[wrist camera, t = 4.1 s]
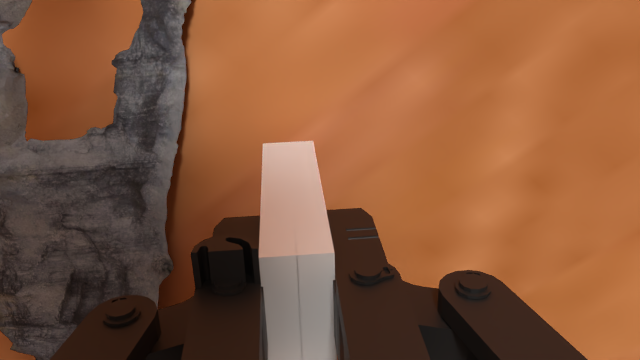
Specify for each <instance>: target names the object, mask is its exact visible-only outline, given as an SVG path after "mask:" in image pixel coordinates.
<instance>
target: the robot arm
mask: <svg viewBox="0 0 640 360" xmlns="http://www.w3.org/2000/svg"><path fill="white" fill-rule="evenodd" d="M191 259H192V266H193V273H194V281H195V293H194V296H193V297H191V298H190V299H188V300H186V301H184V302H182V303H179V304H176V305H173V306H170V307H166V308H163V309H159V310H157V307H156V304H155V302H154V301H153V300H151V299H150V298H148V297H145V296H140V295H124V296H119V297H115V298H112V299H109V300H107V301H105V302H103V303H101V304H99V305H98V306H97V307H95V308H94V309H93V310H92V311H91V312H90V313H89V314H88V315H87V316H86V317H85V318H84V320H83V321H82V322H81V323H80V324H79V325H78V327H77V328H76V329H75V330H74V331H73V333H72V334H71V335H70V336H69V337H68V338H67V340H66V341H65V342H64V343H63V344H62V345H61V347H60V348H59V349H58V350H57V351H56V353H55V354H54V355H53V356H52V357H51V358H50V360H337V357H338V360H587V359H586V358H585V357H584V356H583V355H582V354H581V353H580V352H579V351H577V350H576V349H575V348H574V347H573V346H572V345H571V344H570V343H569V342H568V341H566V340H565V339H564V338H563V337H562V336H561V335H560V334H559V333H558V332H557V331H555V330H554V329H553V328H552V327H551V326H550V325H549V324H548V323H547V322H546V321H544V320H543V319H542V318H541V317H540V316H539V315H538V314H537V313H536V312H535V311H533V310H532V309H531V308H530V307H529V306H528V305H527V304H526V303H525V302H524V301H522V300H521V299H520V298H519V297H518V296H517V295H516V294H515V293H514V292H513V291H511V290H510V289H509V288H508V287H507V286H506V285H505V284H504V283H503V282H501V281H500V280H498V279H497V278H495V277H494V276H492V275H489V274H486V273H483V272H479V271H472V270H465V271H455V272H453V273H450V274H447V275H445V276H444V277H443V278H442V279H441V280H440V283H439V289H437V288H429V287H422V286H417V285H413V284H410V283H407V282H404V281H403V280H402V279H401V276H400V274H399V272H398V271H397V270H396V268H395V267H393V266H391V265H390V264H388V262H387V259H386V256H385V253H384V250H383V247H382V245H381V242H380V239H379V237H378V233H377V230H376V227H375V224H374V221H373V218H372V216H370V215H369V214H368V213H367V212H365V211H364V210H363V209H361V208H354V209H338V210H326V206H325V201H324V195H323V190H322V185H321V180H320V175H319V169H318V164H317V159H316V154H315V149H314V143H313V141H300V142H281V143H263V156H262V182H261V209H260V216H247V217H231V218H224V219H223V220H222V221H221V222H220V223H219V224H218V225H217V226H216V227H215V228H214V232H213V237H211V238H209V239H206V240H203V241H202V242H200V243H199V244H197V245H196V246H195V247H194V248H193V250H192V252H191Z"/></svg>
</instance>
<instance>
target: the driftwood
mask: <svg viewBox="0 0 640 360" xmlns="http://www.w3.org/2000/svg"><path fill="white" fill-rule="evenodd" d="M31 2H32V0H0V331H1V332H2V333H3V334H4V335H5V336H6V337H8V338H9V339H10V341H11V342H12V343H13V345H12V347H11V348H10V349H11V350H14V351H17V352H20V353H24V354H29V355H33V356H35V358H36V360H50V358H51V357H52V356H53V355H54V354H55V353H56V351H57V350H58V349H59V348H60V347H61V345H62V344H63V343H64V342H65V341H66V340H67V338H68V337H69V336H70V335H71V334H72V333H73V331H74V330H75V329H76V328H77V327H78V325H79V324H80V323H81V322H82V321H83V320H84V318H85V317H86V316H87V315H88V314H89V313H90V312H91V311H92V310H93V309H94V308H95V307H97V306H98V305H99V304H101V303H103V302H105V301H107V300H109V299H112V298H115V297H119V296H124V295H140V296H145V297H148V298H150V299H151V300H153V301H154V302H155V304H156V307H158V299H159V293H158V292H159V285H160V284H161V283H162V281H163V280H164V279H165V278H166V277H167V276H169V274H170V273H171V271H172V270H173V262H172V260H171V258H170V255H169V254H168V246H167V240H166V236H165V223H166V220H167V215H166V214H167V205H166V200H167V193H168V190H169V188H170V184H171V183H170V180H171V176H172V175H173V174H172V169H173V165H174V163H173V161H174V158H175V154H176V153H177V148H178V145H177V143H176V141H177V139H178V136H179V132H180V130H181V119H182V113H183V107H184V104H183V102H184V95H185V92H184V89H185V85H186V78H187V77H186V58H185V54H184V46H183V44H182V40H181V35H182V26H181V25H182V24H183V23H184V13H187V11H186V9H187V8H188V6H189V5H190V4H191V0H141V5H142V7H143V16H142V20H141V22H140V25H139V28H138V30H137V31H136V33H135V35H134V38H133V41H132V44H131V46H130V48H129V49H128V50H125V51H122V52H119V53H118V54H117V55H116V56H115V59H114V60H112V65H113V66H114V67H116V68H117V73H116V75H115V85H114V93H115V94H116V95H117V96H118V99H117V102H116V105H115V108H114V119H113V124H111V125H108V126H106V127H105V128H102V129H100V128H97V127H93V128H90V129H89V130H88V131H87V134H86V135H84V136H83V137H80V138H76V139H70V140H48V141H41V140H36V139H30V140H29V141H26V138H25V133H26V131H25V128H26V122H27V107H28V102H27V100H26V97H25V93H26V87H25V76H24V74H21V73H19V72H18V71H19V68H16V67H15V64H14V61H15V56H14V54H13V53H12V51H11V49H9V48H7V47H6V46H5V45H4V44H3V39H2V34H3V33H4V32H5V31H7V30H9V29H13V28H15V27H16V26H17V25H18V24H19V23H20V22H21V20H22V18H23V17H24V16H25V13H26V11H27V10H28V8H29V6H30V4H31ZM157 310H158V309H157Z"/></svg>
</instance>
